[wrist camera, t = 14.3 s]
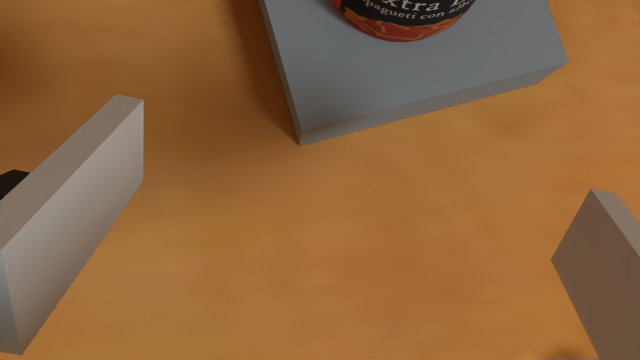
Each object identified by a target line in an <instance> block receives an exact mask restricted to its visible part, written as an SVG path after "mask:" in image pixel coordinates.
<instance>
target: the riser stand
mask: <svg viewBox="0 0 640 360" xmlns="http://www.w3.org/2000/svg"><path fill="white" fill-rule="evenodd" d="M258 2H259V6H260V9H261V13H262V16H263V20H264V23H265V27H266V30H267V34H268V37H269V41H270V44H271V48H272V51H273V55H274V58H275V62H276V65H277V69H278V72H279V76H280V79H281V83H282V86H283V90H284V93H285V97H286V100H287V104H288V107H289V111H290V114H291V118H292V121H293V125H294V128H295V132H296V135H297V139H298V143H299V146H301V145H305V144H309V143H313V142H317V141H320V140H324V139H328V138H332V137H336V136H340V135H343V134H347V133H351V132H355V131H359V130H362V129H366V128H370V127H374V126H378V125H381V124H385V123H389V122H393V121H397V120H400V119H404V118H408V117H412V116H416V115H419V114H423V113H427V112H431V111H435V110H438V109H442V108H446V107H450V106H454V105H457V104H461V103H465V102H469V101H473V100H477V99H480V98H484V97H488V96H492V95H496V94H499V93H503V92H507V91H511V90H515V89H518V88H522V87H526V86H530V85H534V84H537V83H539V82H540V81H542V80H543V79H544V78H546V77H547V76H549V75H550V74H552V73H553V72H555V71H556V70H558V69H559V68H561V67H562V66H564V65H565V64H567V63H568V62H569V61H568V58H567V56H566V53H565V50H564V47H563V45H562V42H561V39H560V36H559V34H558V31H557V28H556V25H555V23H554V20H553V17H552V14H551V12H550V9H549V6H548V3H547V1H546V0H475V2H474V3H473V4H472V6H471V7H470V8H469V10H468V11H467V12H466V13H465V14H464V15H463V16H462V17H461V18H460V19H459V20H458V21H457V22H456V23H455V24H453V25H452V26H450V27H449V28H447V29H445V30H444V31H442V32H440V33H438V34H435V35H433V36H430V37H427V38H425V39H422V40H418V41H412V42H389V41H385V40H381V39H377V38H374V37H372V36H370V35H368V34H365V33H363V32H361V31H360V30H358V29H357V28H356V27H354V26H353V25H351V24H350V23H349V22H348V21H347V20H346V19H345V18H344V17H343V16H342V15H341V14H340V13H339V12H338V10H337V9H336V7H335V6H334V4H333V2H332V1H331V0H258Z"/></svg>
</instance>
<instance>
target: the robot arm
mask: <svg viewBox="0 0 640 360" xmlns="http://www.w3.org/2000/svg"><path fill="white" fill-rule="evenodd" d="M143 161H144V99H139V98H134V97H129V96H124V95H119V94H116V95H115V96H114V97H113V98H112V99H111V100H110V101H108V102H107V103H106V104H105V105H104V106H103V107H102V108H101V109H100V110H99V111H98V112H96V113H95V114H94V115H93V116H92V117H91V118H90V119H89V120H88V121H87V122H86V123H84V124H83V125H82V126H81V127H80V128H79V129H78V130H77V131H76V132H75V133H74V134H73V135H71V136H70V137H69V138H68V139H67V140H66V141H65V142H64V143H63V144H62V145H61V146H59V147H58V148H57V149H56V150H55V151H54V152H53V153H52V154H51V155H50V156H49V157H47V158H46V159H45V160H44V161H43V162H42V163H41V164H40V165H39V166H38V167H37V168H35V169H34V170H33V171H32V172H31V173H29V172H23V171H18V170H11V171H9V172H7V173H4V174H2V175H0V352H6V353H11V354H17V355H22V354H23V353H24V351H25V350H26V348H27V347H28V345H29V344H30V343H31V341H32V340H33V338H34V337H35V335H36V334H37V333H38V331H39V330H40V328H41V327H42V325H43V324H44V323H45V321H46V320H47V318H48V317H49V315H50V314H51V313H52V311H53V310H54V308H55V307H56V305H57V304H58V303H59V301H60V300H61V298H62V297H63V295H64V294H65V292H66V291H67V290H68V288H69V287H70V285H71V284H72V282H73V281H74V280H75V278H76V277H77V275H78V274H79V272H80V271H81V270H82V268H83V267H84V265H85V264H86V262H87V261H88V260H89V258H90V257H91V255H92V254H93V252H94V251H95V250H96V248H97V247H98V245H99V244H100V242H101V241H102V240H103V238H104V237H105V235H106V234H107V232H108V231H109V229H110V228H111V227H112V225H113V224H114V222H115V221H116V219H117V218H118V217H119V215H120V214H121V212H122V211H123V209H124V208H125V207H126V205H127V204H128V202H129V201H130V199H131V198H132V197H133V195H134V194H135V192H136V191H137V189H138V188H139V187H140V185H141V184H142V182H143ZM551 261H552V263H553V265H554V267H555V269H556V271H557V273H558V275H559V277H560V279H561V281H562V283H563V285H564V287H565V290H566V292H567V294H568V296H569V298H570V300H571V302H572V304H573V306H574V308H575V310H576V312H577V314H578V316H579V318H580V320H581V322H582V324H583V326H584V328H585V330H586V332H587V335H588V337H589V339H590V341H591V343H592V345H593V347H594V349H595V351H596V353H597V355H598V357H599V359H600V360H640V224H639V222H638V221H637V220H636V219H635V217H634V216H633V215H632V214H631V212H630V211H629V210H628V208H627V207H626V206H625V205H624V203H623V202H622V201H621V200H620V198H619V197H618V196H617V195H616V194H614V193H609V192H604V191H599V190H594V189H590V191H589V193H588V195H587V196H586V198H585V200H584V202H583V203H582V205H581V207H580V209H579V211H578V212H577V214H576V216H575V218H574V219H573V221H572V223H571V225H570V227H569V228H568V230H567V232H566V234H565V235H564V237H563V239H562V241H561V243H560V244H559V246H558V248H557V250H556V251H555V253H554V255H553V257H552V258H551Z"/></svg>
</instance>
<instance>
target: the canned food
mask: <svg viewBox="0 0 640 360" xmlns="http://www.w3.org/2000/svg"><path fill="white" fill-rule="evenodd" d="M331 1H332V2H333V4H334V6H335V7H336V9H337V10H338V12H339V13H340V14H341V15H342V16H343V17H344V18H345V19H346V20H347V21H348V22H349V23H350V24H351V25H353V26H354V27H356V28H357V29H358V30H360V31H361V32H363V33H365V34H368V35H370V36H372V37H374V38H377V39H381V40H385V41H389V42H412V41H418V40H422V39H425V38H427V37H430V36H433V35H435V34H438V33H440V32H442V31H444V30H445V29H447V28H449V27H450V26H452V25H453V24H455V23H456V22H457V21H458V20H459V19H460V18H461V17H462V16H463V15H464V14H465V13H466V12H467V11H468V10H469V8H470V7H471V6H472V4H473V3H474V2H475V0H331Z"/></svg>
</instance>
